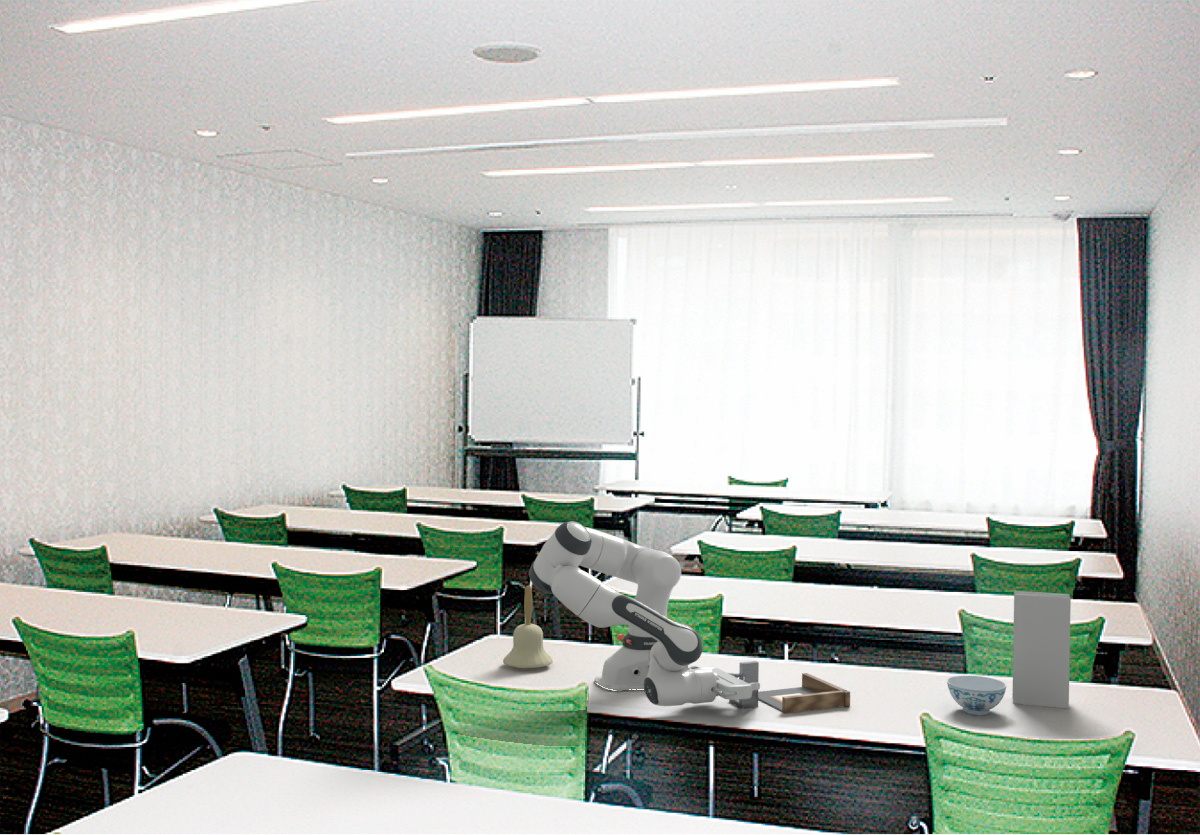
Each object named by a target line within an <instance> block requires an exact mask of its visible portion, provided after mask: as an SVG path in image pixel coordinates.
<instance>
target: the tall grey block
mask: <svg viewBox="0 0 1200 835" xmlns="http://www.w3.org/2000/svg"><path fill="white" fill-rule="evenodd" d="M1071 606H1072V605H1071V597H1070V594H1068V593H1053V592H1052V593H1050V592H1035V591H1023V590H1022V591H1021V590H1014V591H1013V636H1012V637H1013V639H1012V640H1013V641H1012V642H1013V644H1012V645H1013V647H1012V693H1011V694H1012V704H1013V705H1014V704H1015V705H1027V706H1036V707H1037V706H1038V707H1047V708H1048V707H1050V708H1060V709H1070V665H1071V664H1070V658H1071V657H1070V655H1071V654H1070V653H1071V650H1070V649H1071Z"/></svg>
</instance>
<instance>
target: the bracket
mask: <svg viewBox="0 0 1200 835" xmlns="http://www.w3.org/2000/svg"><path fill="white" fill-rule="evenodd" d="M759 662H760V661H759ZM759 662H758V661H756V660H755V661H754V660H753V661H744V662H742V661H741V662H739V672H738V673H739V679H740V680H742V681H744V682H746V683H751V682H758V683H759V677H760V676H759V671H760V670H759V667H760V664H759ZM758 692H759V689H758V690H753V691H752V697H751V698H749V699H739V700H728V702H729V703H731V704H733V705H734V706H736V707H738V708H740V709H749V708H751V709H752V708H759V700H758Z"/></svg>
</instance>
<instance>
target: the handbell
mask: <svg viewBox="0 0 1200 835" xmlns="http://www.w3.org/2000/svg"><path fill="white" fill-rule="evenodd" d="M532 592H533V591H532V586H531V585H526V586H525V590H524V597H523V598H524V602H523V603H524V604H523V606H524V607H523V608H524V609H523V610H524V617H525V618H524V619H525V623H523V624H520V625H517V626H516V627H515V628H514V631H513V633H512V636H513V637H512V640H513V641H512V643H513V645H512V648H511V650H510V651H509V652H508V653H507V654H506V656H504V658H503V659H502V663H503V664H504V665H506V666H508V667H511V668H519V669H536V668H537V669H538V668H543V667H546V666H549V665H551V664H553V662H554V659H553V657H552V656H551V655H550V654H549V653H548V652H547V651H546V650H545V649H544V644H543V642H544V632H543V630H542V627H540V626H539V625H537V624H534V623H532V622H531V621H532V614H533V593H532Z"/></svg>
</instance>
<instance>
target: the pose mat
mask: <svg viewBox="0 0 1200 835" xmlns="http://www.w3.org/2000/svg"><path fill="white" fill-rule="evenodd" d="M813 693H815V692H813V691H811V690H809V689H807V688H804V687H802V686H799V687H790V688H780V689H779V688H778V689H771V690H762V691H758V701H761V702H762V703H764V704H766V705H769V707H772V708H774V709H776V710H778V711H780V712H782V697H785V696H794V695H803V694H813Z"/></svg>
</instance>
